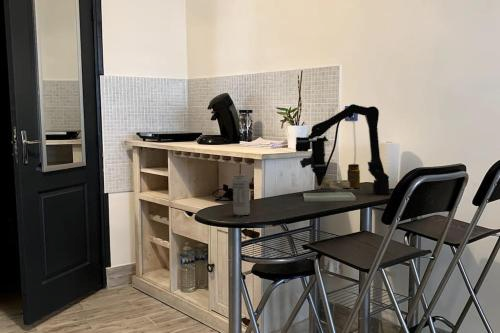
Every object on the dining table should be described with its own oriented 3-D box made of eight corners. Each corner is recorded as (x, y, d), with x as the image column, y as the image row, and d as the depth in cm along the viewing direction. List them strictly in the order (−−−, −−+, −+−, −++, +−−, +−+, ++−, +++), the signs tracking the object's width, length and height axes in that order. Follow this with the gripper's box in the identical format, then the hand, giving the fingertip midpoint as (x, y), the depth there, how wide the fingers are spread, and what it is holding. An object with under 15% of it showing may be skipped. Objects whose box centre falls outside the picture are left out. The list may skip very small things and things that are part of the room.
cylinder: (341, 193, 233) (341, 180, 232) (342, 194, 230) (342, 181, 229) (335, 193, 233) (335, 181, 232) (335, 194, 230) (335, 181, 229)
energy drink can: (253, 214, 185) (252, 174, 184) (242, 217, 181) (241, 176, 180) (241, 213, 189) (240, 173, 188) (230, 215, 185) (228, 175, 184)
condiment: (363, 187, 251) (363, 164, 250) (353, 189, 245) (353, 165, 244) (351, 187, 256) (350, 163, 255) (341, 188, 250) (341, 164, 249)
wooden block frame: (347, 185, 235) (347, 174, 235) (349, 187, 226) (349, 176, 226) (315, 186, 236) (314, 175, 236) (316, 188, 227) (316, 177, 227)
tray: (350, 196, 224) (350, 192, 224) (355, 201, 210) (355, 196, 210) (303, 197, 225) (303, 193, 225) (304, 202, 211) (304, 197, 211)
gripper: (299, 150, 240) (300, 183, 241) (301, 153, 221) (302, 188, 223) (323, 150, 239) (324, 182, 240) (326, 152, 221) (327, 187, 222)
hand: (318, 185), depth 231 cm, fingers closed on wooden block frame, 4 cm apart
